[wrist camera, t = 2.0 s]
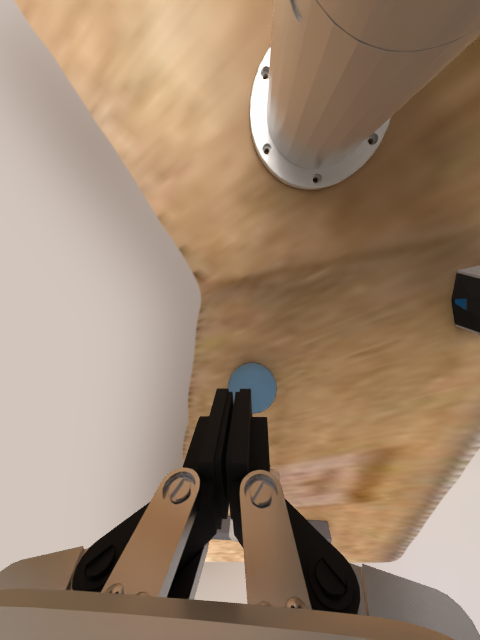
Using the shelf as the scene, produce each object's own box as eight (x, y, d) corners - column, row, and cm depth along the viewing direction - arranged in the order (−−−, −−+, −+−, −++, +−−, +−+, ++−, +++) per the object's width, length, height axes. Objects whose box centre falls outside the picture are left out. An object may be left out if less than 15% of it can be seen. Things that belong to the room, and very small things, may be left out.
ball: (229, 354, 30) (222, 381, 25) (274, 354, 30) (278, 380, 24) (232, 392, 32) (226, 424, 27) (275, 392, 32) (278, 425, 26)
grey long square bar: (193, 514, 42) (189, 530, 40) (327, 521, 40) (331, 538, 38) (194, 521, 43) (191, 537, 40) (326, 528, 41) (330, 546, 38)
